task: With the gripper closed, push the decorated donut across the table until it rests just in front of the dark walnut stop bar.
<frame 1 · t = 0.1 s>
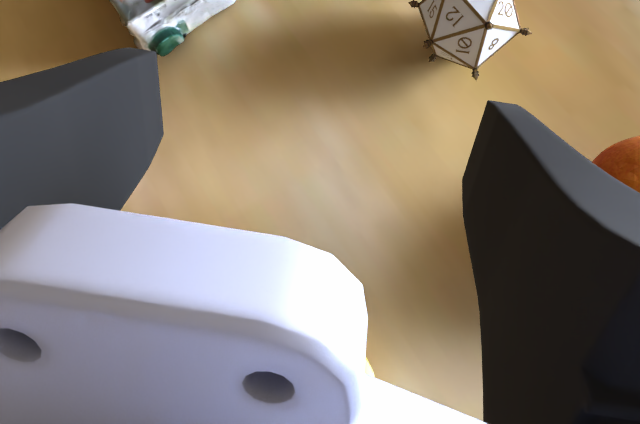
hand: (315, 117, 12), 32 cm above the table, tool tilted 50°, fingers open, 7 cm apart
fruit: (620, 216, 44), on the table
game die: (455, 43, 47), on the table
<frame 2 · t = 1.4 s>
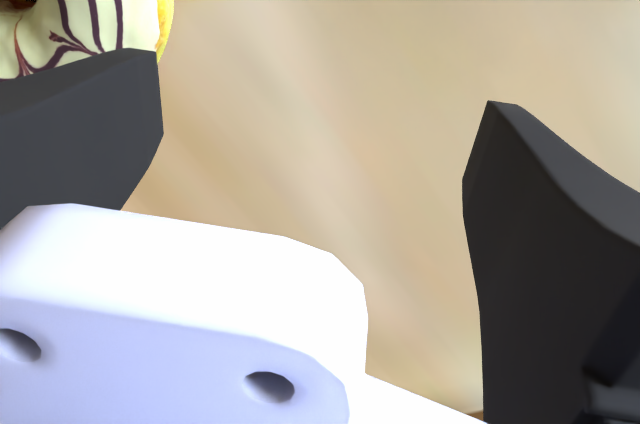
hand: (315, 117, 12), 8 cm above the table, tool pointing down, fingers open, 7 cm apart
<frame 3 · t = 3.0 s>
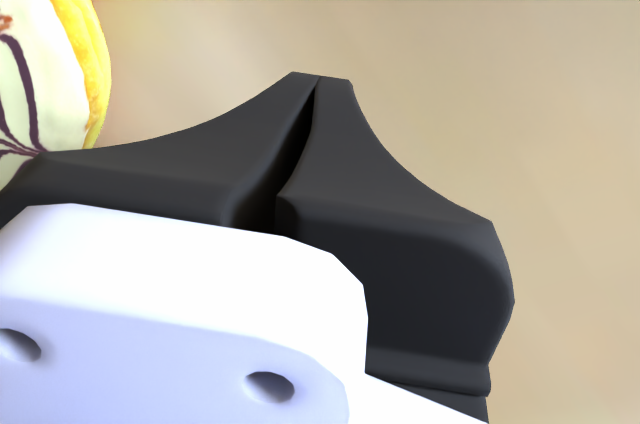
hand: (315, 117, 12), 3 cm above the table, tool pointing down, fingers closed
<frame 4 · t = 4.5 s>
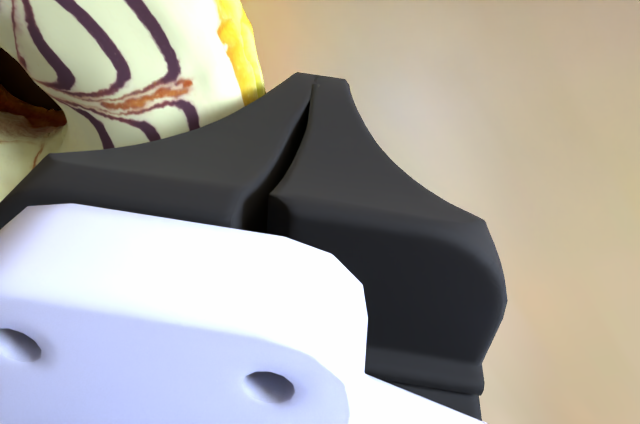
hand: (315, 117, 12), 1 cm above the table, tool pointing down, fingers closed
decorated donut: (63, 46, 13), on the table, touching gripper
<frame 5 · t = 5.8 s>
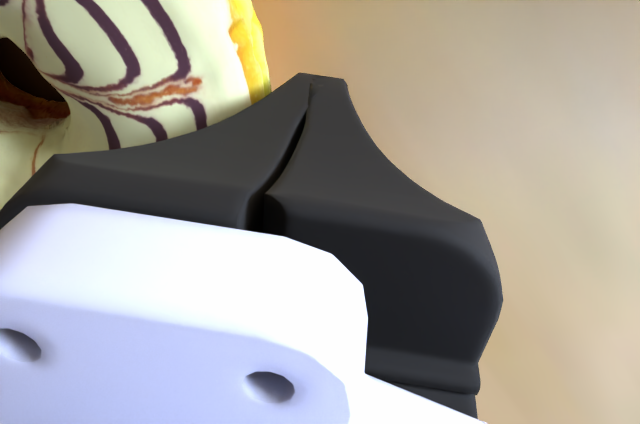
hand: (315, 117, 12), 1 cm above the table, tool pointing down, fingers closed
decorated donut: (66, 37, 13), on the table, touching gripper
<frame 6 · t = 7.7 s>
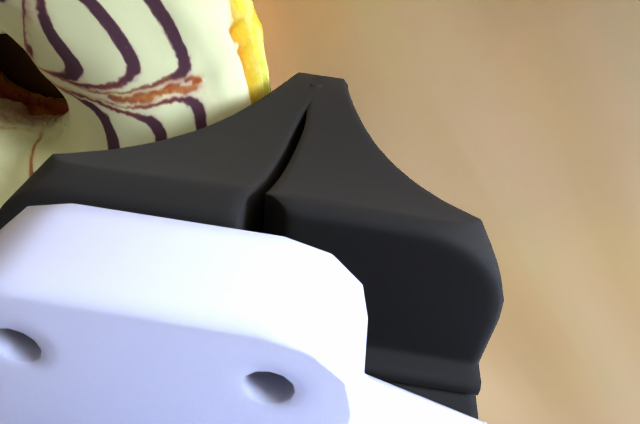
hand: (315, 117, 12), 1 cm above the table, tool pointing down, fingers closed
decorated donut: (65, 33, 13), on the table, touching gripper
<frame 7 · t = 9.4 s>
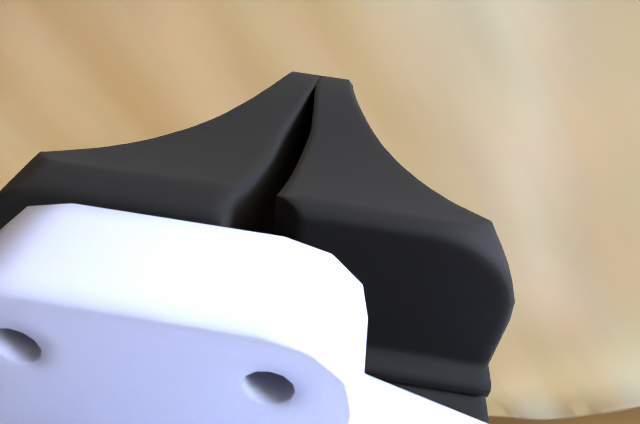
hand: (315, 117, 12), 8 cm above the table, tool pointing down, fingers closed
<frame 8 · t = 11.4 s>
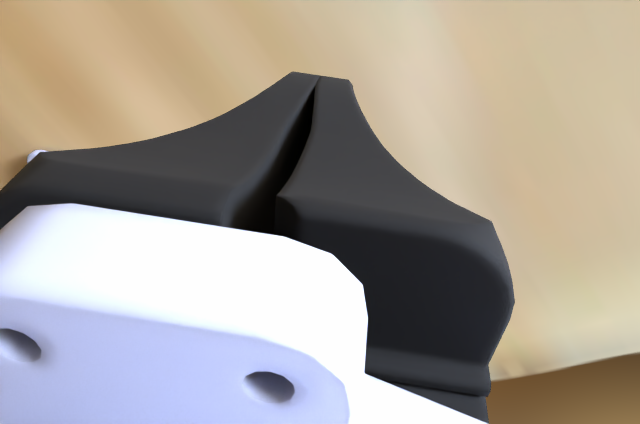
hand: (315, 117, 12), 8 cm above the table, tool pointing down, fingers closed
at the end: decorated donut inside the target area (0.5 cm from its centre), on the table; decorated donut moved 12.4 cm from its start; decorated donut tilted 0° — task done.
